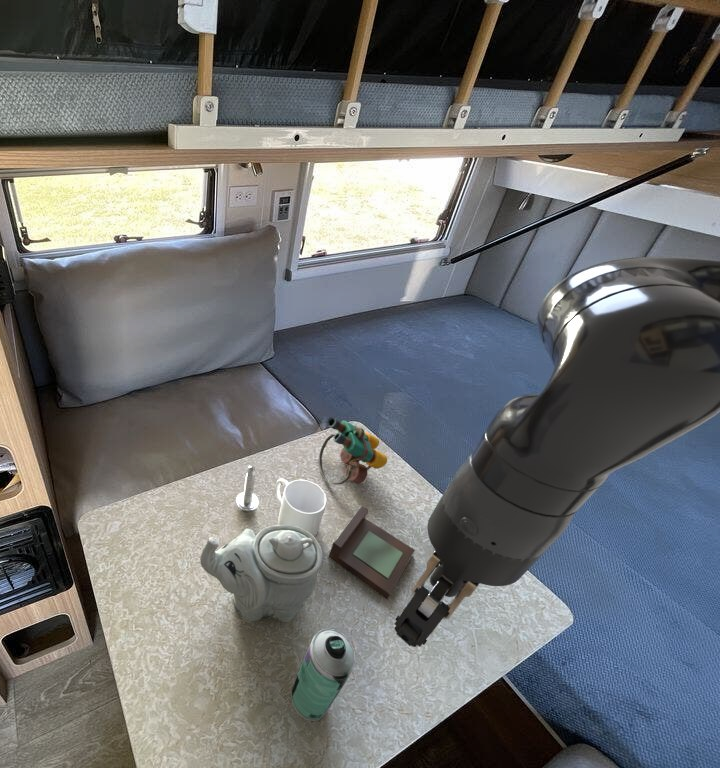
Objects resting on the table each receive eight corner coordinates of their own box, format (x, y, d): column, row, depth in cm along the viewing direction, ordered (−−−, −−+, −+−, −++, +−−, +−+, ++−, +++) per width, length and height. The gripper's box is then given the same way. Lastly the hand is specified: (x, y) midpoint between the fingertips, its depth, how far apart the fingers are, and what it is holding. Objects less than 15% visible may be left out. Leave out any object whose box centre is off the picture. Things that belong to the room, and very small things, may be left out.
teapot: (196, 597, 73) (197, 537, 61) (244, 539, 82) (253, 478, 71) (273, 665, 64) (291, 610, 53) (318, 592, 74) (340, 533, 63)
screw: (231, 503, 89) (249, 494, 91) (243, 519, 86) (261, 510, 88) (235, 463, 81) (254, 454, 83) (248, 479, 78) (268, 470, 80)
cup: (296, 551, 80) (304, 521, 74) (258, 508, 88) (263, 478, 82) (325, 532, 84) (335, 501, 78) (286, 492, 92) (293, 462, 86)
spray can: (335, 704, 60) (370, 650, 48) (309, 730, 58) (340, 680, 46) (308, 669, 64) (335, 610, 52) (283, 692, 61) (305, 636, 50)
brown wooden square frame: (411, 555, 80) (420, 541, 77) (386, 600, 73) (395, 586, 70) (356, 519, 87) (361, 504, 84) (328, 557, 79) (333, 542, 77)
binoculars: (349, 503, 94) (399, 467, 86) (303, 482, 90) (352, 441, 82) (335, 459, 105) (378, 423, 98) (293, 437, 101) (335, 398, 93)
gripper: (515, 609, 27) (428, 694, 36) (575, 497, 34) (490, 592, 44) (408, 531, 31) (356, 624, 41) (482, 447, 39) (423, 543, 48)
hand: (425, 608), depth 42 cm, fingers open, 8 cm apart
